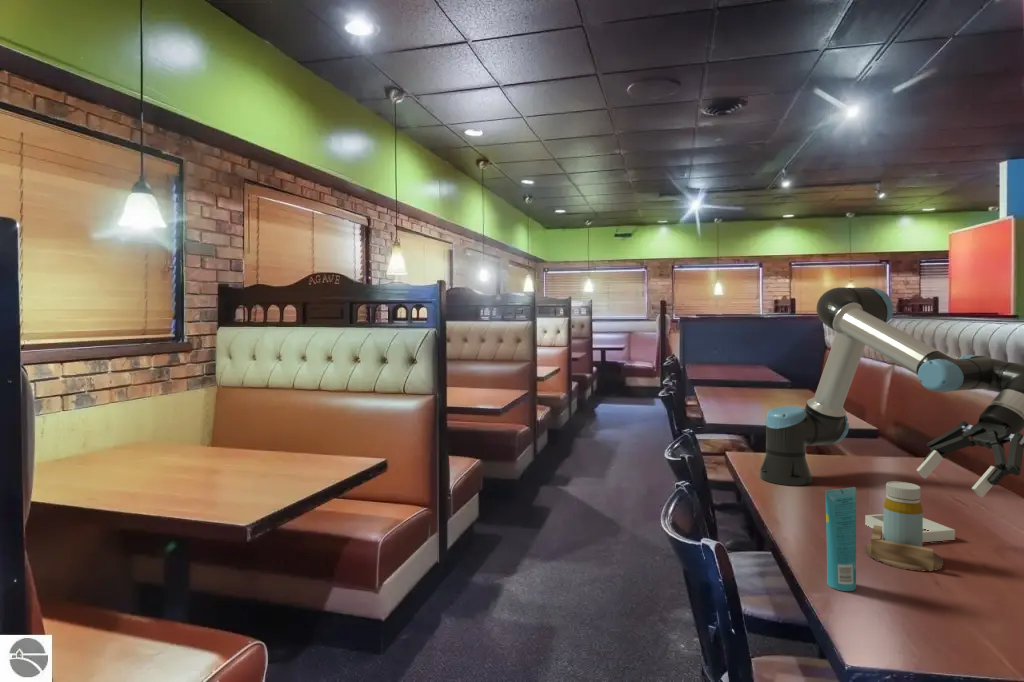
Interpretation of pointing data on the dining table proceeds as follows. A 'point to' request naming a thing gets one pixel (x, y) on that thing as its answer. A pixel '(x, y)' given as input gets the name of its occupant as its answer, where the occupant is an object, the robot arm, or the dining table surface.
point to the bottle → (903, 514)
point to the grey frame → (935, 529)
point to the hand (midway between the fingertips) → (947, 483)
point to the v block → (902, 553)
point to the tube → (841, 538)
